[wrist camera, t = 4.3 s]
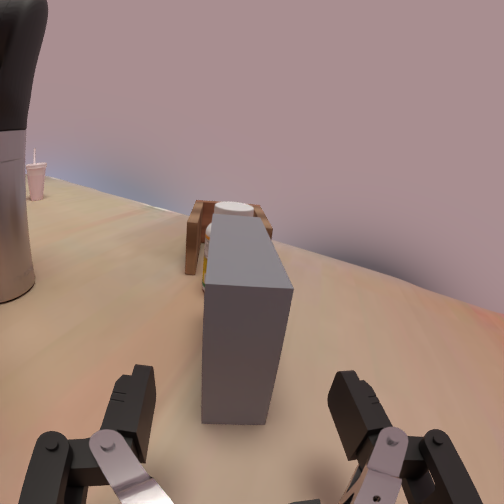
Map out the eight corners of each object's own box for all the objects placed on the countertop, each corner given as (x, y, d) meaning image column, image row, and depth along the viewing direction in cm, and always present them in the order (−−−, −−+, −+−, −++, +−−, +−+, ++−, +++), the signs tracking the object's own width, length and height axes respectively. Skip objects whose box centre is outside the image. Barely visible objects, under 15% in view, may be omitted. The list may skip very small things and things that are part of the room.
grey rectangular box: (264, 425, 17) (293, 288, 14) (201, 424, 17) (205, 283, 14) (247, 318, 30) (260, 217, 26) (206, 316, 29) (212, 213, 26)
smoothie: (26, 198, 67) (25, 148, 63) (46, 195, 72) (46, 146, 67) (27, 202, 63) (26, 149, 58) (48, 199, 68) (48, 147, 63)
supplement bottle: (201, 300, 32) (206, 209, 28) (202, 278, 36) (207, 198, 33) (252, 303, 32) (264, 214, 29) (247, 281, 37) (256, 202, 34)
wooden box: (265, 279, 38) (272, 228, 36) (185, 274, 37) (187, 222, 35) (254, 244, 51) (259, 205, 48) (193, 239, 49) (196, 200, 47)
